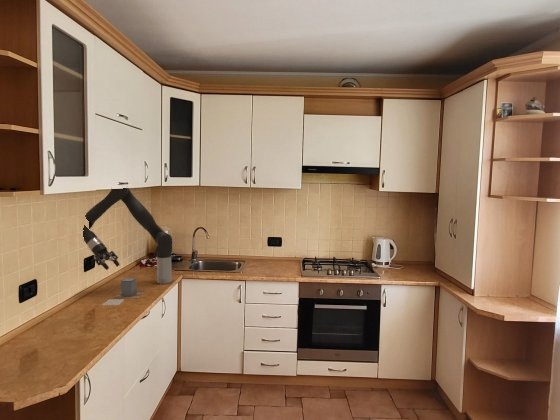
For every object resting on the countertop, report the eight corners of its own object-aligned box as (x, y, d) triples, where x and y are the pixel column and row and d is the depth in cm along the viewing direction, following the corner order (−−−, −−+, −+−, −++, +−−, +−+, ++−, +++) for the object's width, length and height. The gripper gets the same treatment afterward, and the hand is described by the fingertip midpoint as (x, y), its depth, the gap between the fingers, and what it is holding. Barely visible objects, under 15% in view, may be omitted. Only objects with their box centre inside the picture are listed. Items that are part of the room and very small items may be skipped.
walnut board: (122, 292, 229) (122, 290, 229) (145, 292, 229) (145, 290, 229) (112, 300, 215) (112, 298, 215) (137, 300, 215) (137, 298, 215)
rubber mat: (108, 301, 213) (108, 299, 213) (125, 301, 214) (124, 299, 214) (101, 306, 204) (101, 304, 204) (118, 306, 205) (118, 304, 205)
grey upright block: (126, 292, 225) (126, 278, 224) (136, 293, 225) (136, 278, 224) (121, 296, 219) (120, 280, 218) (131, 296, 218) (131, 281, 218)
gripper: (91, 244, 219) (107, 266, 216) (109, 240, 232) (125, 260, 230) (84, 253, 221) (100, 274, 218) (102, 248, 234) (118, 268, 232)
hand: (113, 267), depth 224 cm, fingers open, 8 cm apart
